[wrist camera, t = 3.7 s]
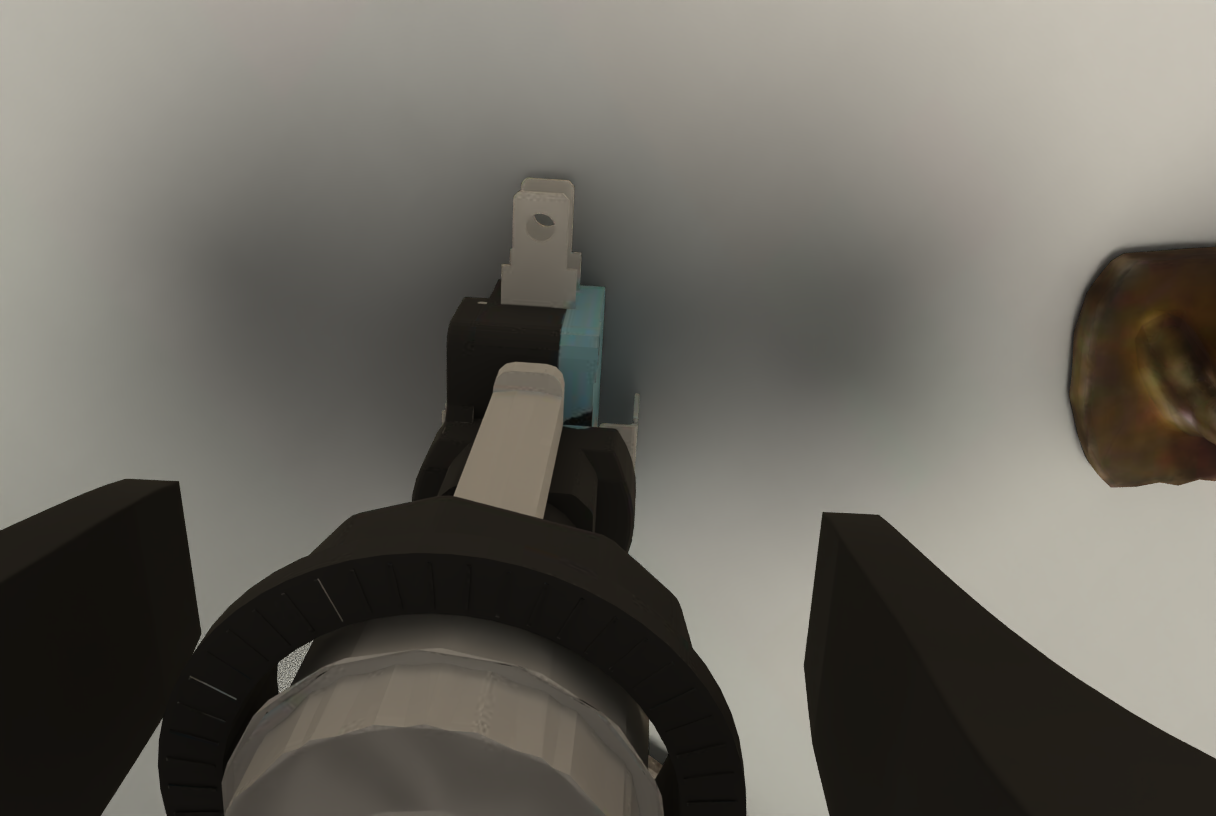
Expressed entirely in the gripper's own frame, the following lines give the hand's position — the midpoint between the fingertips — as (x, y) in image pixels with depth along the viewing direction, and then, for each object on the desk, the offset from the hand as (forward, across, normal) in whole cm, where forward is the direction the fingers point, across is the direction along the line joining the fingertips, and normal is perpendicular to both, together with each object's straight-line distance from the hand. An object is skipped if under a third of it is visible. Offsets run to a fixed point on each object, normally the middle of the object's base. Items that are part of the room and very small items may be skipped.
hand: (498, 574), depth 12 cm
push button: (+6, 0, 0) cm, 6 cm away
